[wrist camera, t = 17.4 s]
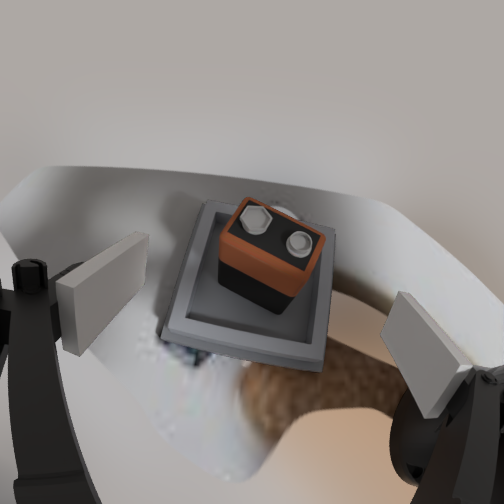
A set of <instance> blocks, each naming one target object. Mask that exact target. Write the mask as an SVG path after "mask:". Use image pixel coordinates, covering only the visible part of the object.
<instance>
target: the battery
mask: <svg viewBox="0 0 504 504" xmlns="http://www.w3.org/2000/svg"><path fill="white" fill-rule="evenodd" d="M325 241H326V237H325V235H324V234H323V233H321V232H319V231H317V230H315V229H313V228H312V227H310V226H308V225H306V224H304V223H302V222H300V221H298V220H296V219H294V218H292V217H290V216H288V215H286V214H284V213H282V212H280V211H278V210H276V209H274V208H272V207H270V206H268V205H266V204H264V203H262V202H260V201H257V200H255V199H253V198H251V197H246V198H245V199H244V200H243V201H242V203H241V204H240V205H239V207H238V208H237V210H236V211H235V213H234V214H233V216H232V217H231V218H230V220H229V221H228V223H227V224H226V226H225V227H224V229H223V230H222V232H221V233H220V235H219V257H218V283H219V284H220V285H221V286H223V287H225V288H227V289H229V290H230V291H232V292H234V293H236V294H238V295H240V296H242V297H243V298H245V299H247V300H249V301H251V302H253V303H255V304H257V305H259V306H260V307H262V308H264V309H266V310H268V311H270V312H272V313H274V314H277V315H280V314H282V313H283V312H284V310H285V309H286V308H287V307H288V305H289V304H290V303H291V302H292V300H293V299H294V298H295V297H296V295H297V294H298V293H299V291H300V290H301V289H302V288H303V286H304V285H305V284H306V282H307V281H308V279H309V277H310V275H311V273H312V271H313V269H314V266H315V264H316V262H317V260H318V257H319V255H320V253H321V251H322V248H323V246H324V244H325Z"/></svg>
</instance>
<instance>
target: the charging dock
mask: <svg viewBox="0 0 504 504" xmlns="http://www.w3.org/2000/svg"><path fill="white" fill-rule="evenodd" d="M238 207H239V206H235V205H231V204H226V203H222V202H217V201H212V200H207V203H206V204H202V206H201V209H200V212H199V215H198V218H197V221H196V224H195V227H194V230H193V233H192V236H191V239H190V242H189V245H188V248H187V251H186V254H185V257H184V260H183V263H182V266H181V269H180V273H179V276H178V279H177V282H176V286H175V289H174V292H173V295H172V299H171V302H170V306H169V309H168V313H167V316H166V319H165V323H164V327H163V330H162V334H161V337H160V338H161V339H162V340H164V341H167V342H171V343H175V344H178V345H182V346H186V347H190V348H194V349H198V350H202V351H206V352H210V353H214V354H219V355H223V356H227V357H232V358H237V359H241V360H246V361H251V362H256V363H262V364H267V365H272V366H278V367H284V368H290V369H296V370H303V371H309V372H316V373H320V372H322V370H323V363H324V356H325V348H326V340H327V332H328V323H329V314H330V304H331V293H332V282H333V269H334V254H335V237H336V234H335V229H333V228H329V227H325V226H321V225H317V224H313V223H309V222H305V221H300V220H298V221H300V222H302V223H304V224H306V225H308V226H310V227H312V228H313V229H315V230H317V231H319V232H321V233H323V234H324V235H325V237H326V241H325V244H324V246H323V248H322V251H321V253H320V255H319V257H318V260H317V262H316V264H315V266H314V269H313V271H312V273H311V275H310V277H309V279H308V281H307V282H306V284H305V285H304V286H303V288H302V289H301V290H300V291H299V293H298V294H297V295H296V297H295V298H294V299H293V300H292V302H291V303H290V304H289V305H288V307H287V308H286V309H285V310H284V312H283V313H282V314H280V315H277V314H274V313H272V312H270V311H268V310H266V309H264V308H262V307H260V306H259V305H257V304H255V303H253V302H251V301H249V300H247V299H245V298H243V297H242V296H240V295H238V294H236V293H234V292H232V291H230V290H229V289H227V288H225V287H223V286H221V285H220V284H219V283H218V257H219V235H220V233H221V232H222V230H223V229H224V227H225V226H226V224H227V223H228V221H229V220H230V218H231V217H232V216H233V214H234V213H235V211H236V210H237V208H238Z"/></svg>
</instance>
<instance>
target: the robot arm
mask: <svg viewBox="0 0 504 504" xmlns="http://www.w3.org/2000/svg"><path fill="white" fill-rule="evenodd" d="M148 243H149V235H148V234H144V233H139V232H134V233H133V234H131V235H129V236H127V237H126V238H124V239H122V240H121V241H119V242H117V243H116V244H114V245H112V246H111V247H109V248H107V249H106V250H104V251H102V252H101V253H99V254H98V255H96V256H94V257H93V258H91V259H90V260H88V261H86V262H80V263H77V264H73V265H71V266H70V267H68V268H66V269H65V270H63V271H62V272H60V273H59V274H57V275H55V276H54V277H52V278H51V279H49V280H48V277H47V265H46V263H45V262H43V261H41V260H38V259H24V260H20V261H18V262H16V263H14V264H13V266H12V276H13V285H14V291H13V290H7V289H2V286H1V279H0V377H1V374H2V370H3V367H4V364H5V361H6V358H7V355H8V396H9V412H10V423H11V432H12V440H13V447H14V453H15V459H16V464H17V469H18V479H16V480H14V484H13V489H14V494H15V499H16V503H17V504H102V503H101V500H100V498H99V496H98V493H97V491H96V489H95V487H94V484H93V482H92V479H91V477H90V474H89V472H88V469H87V466H86V464H85V461H84V458H83V455H82V452H81V450H80V447H79V444H78V440H77V437H76V434H75V431H74V427H73V424H72V420H71V417H70V413H69V409H68V405H67V401H66V397H65V393H64V388H63V384H62V379H61V373H60V368H59V363H58V356H57V350H56V345H55V342H56V341H57V340H58V339H59V338H60V337H61V338H62V345H63V350H65V351H68V352H70V353H72V354H74V355H77V356H79V357H80V356H81V355H82V354H83V353H84V351H85V350H86V349H87V348H88V347H89V346H90V344H91V343H92V342H93V341H94V340H95V339H96V338H97V336H98V335H99V334H100V333H101V332H102V331H103V330H104V328H105V327H106V326H107V325H108V324H109V323H110V322H111V321H112V320H113V318H114V317H115V316H116V315H117V314H118V313H119V312H120V311H121V310H122V308H123V307H124V306H125V305H126V304H127V303H128V302H129V301H130V300H131V299H132V298H133V296H134V295H135V294H136V293H137V292H138V291H139V290H140V289H141V288H142V287H143V286H144V285H145V273H146V262H147V252H148ZM380 336H381V337H382V339H383V341H384V343H385V344H386V346H387V348H388V350H389V352H390V353H391V355H392V357H393V359H394V361H395V363H396V365H397V366H398V368H399V370H400V372H401V374H402V376H403V378H404V380H405V381H406V383H407V385H408V387H409V388H408V389H407V391H406V392H405V394H404V396H403V397H402V399H401V401H400V403H399V405H398V407H397V410H396V412H395V415H394V418H393V422H392V426H391V432H390V442H389V444H390V445H389V447H390V456H391V461H392V464H393V467H394V469H395V471H396V473H397V474H398V475H399V477H400V478H401V479H402V480H403V481H405V482H406V483H408V484H410V485H413V486H416V487H418V489H417V491H416V493H415V495H414V497H413V499H412V501H411V503H410V504H504V365H502V366H499V367H495V368H487V367H482V366H476V365H472V363H471V362H470V361H469V360H468V359H467V357H466V356H465V355H464V354H463V353H462V351H461V350H460V349H459V348H458V347H457V345H456V344H455V343H454V342H453V341H452V340H451V338H450V337H449V336H448V335H447V334H446V333H445V331H444V330H443V329H442V328H441V327H440V326H439V325H438V324H437V322H436V321H435V320H434V319H433V318H432V317H431V316H430V315H429V314H428V312H427V311H426V310H425V309H424V308H423V307H422V306H421V305H420V304H419V303H418V302H417V301H416V299H415V298H414V297H413V296H412V295H411V294H410V293H406V292H401V291H398V294H397V296H396V299H395V301H394V303H393V306H392V308H391V311H390V313H389V315H388V318H387V320H386V322H385V324H384V327H383V329H382V331H381V333H380Z"/></svg>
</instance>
